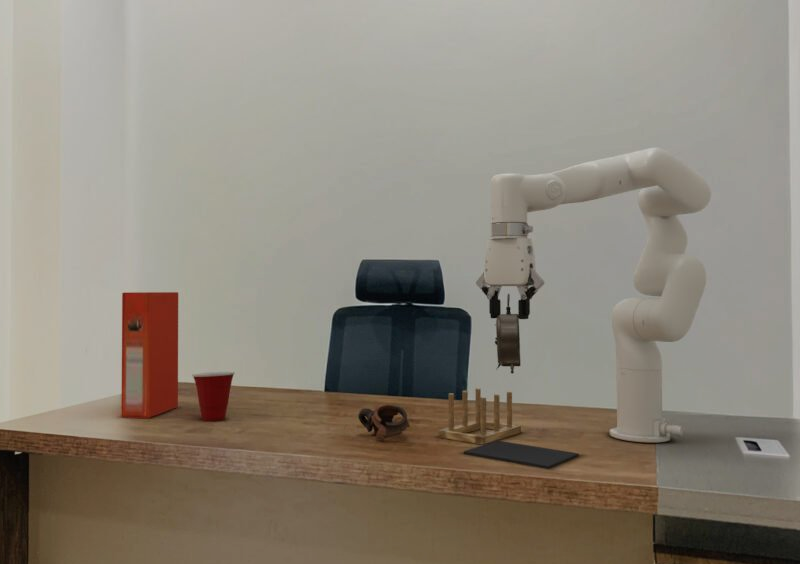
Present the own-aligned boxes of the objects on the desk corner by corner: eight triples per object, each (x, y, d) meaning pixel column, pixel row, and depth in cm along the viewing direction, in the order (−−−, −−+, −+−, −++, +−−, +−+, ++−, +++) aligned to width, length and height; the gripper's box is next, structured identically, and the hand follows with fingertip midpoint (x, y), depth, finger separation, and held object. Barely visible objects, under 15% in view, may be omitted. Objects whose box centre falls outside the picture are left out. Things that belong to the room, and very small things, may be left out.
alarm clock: (520, 374, 143) (522, 294, 144) (493, 373, 144) (494, 293, 145) (520, 368, 154) (521, 293, 154) (494, 367, 155) (495, 293, 155)
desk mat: (578, 455, 142) (578, 453, 142) (548, 468, 132) (548, 466, 132) (497, 442, 154) (497, 440, 154) (464, 453, 144) (463, 451, 144)
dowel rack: (520, 432, 166) (520, 391, 166) (483, 444, 152) (483, 399, 153) (478, 426, 173) (478, 386, 173) (438, 437, 160) (438, 394, 160)
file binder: (120, 417, 182) (122, 292, 183) (150, 406, 199) (152, 292, 200) (149, 418, 180) (151, 292, 181) (177, 407, 197) (179, 292, 198)
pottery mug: (410, 435, 163) (415, 407, 160) (398, 461, 156) (403, 433, 152) (362, 419, 167) (366, 391, 163) (347, 443, 159) (351, 415, 155)
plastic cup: (219, 413, 188) (219, 368, 188) (243, 419, 180) (243, 371, 180) (183, 418, 180) (183, 371, 181) (206, 424, 173) (206, 375, 173)
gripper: (555, 231, 147) (556, 319, 146) (481, 235, 158) (482, 317, 158) (539, 229, 141) (539, 320, 141) (464, 233, 153) (464, 317, 152)
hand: (509, 317), depth 149 cm, fingers closed on alarm clock, 5 cm apart
